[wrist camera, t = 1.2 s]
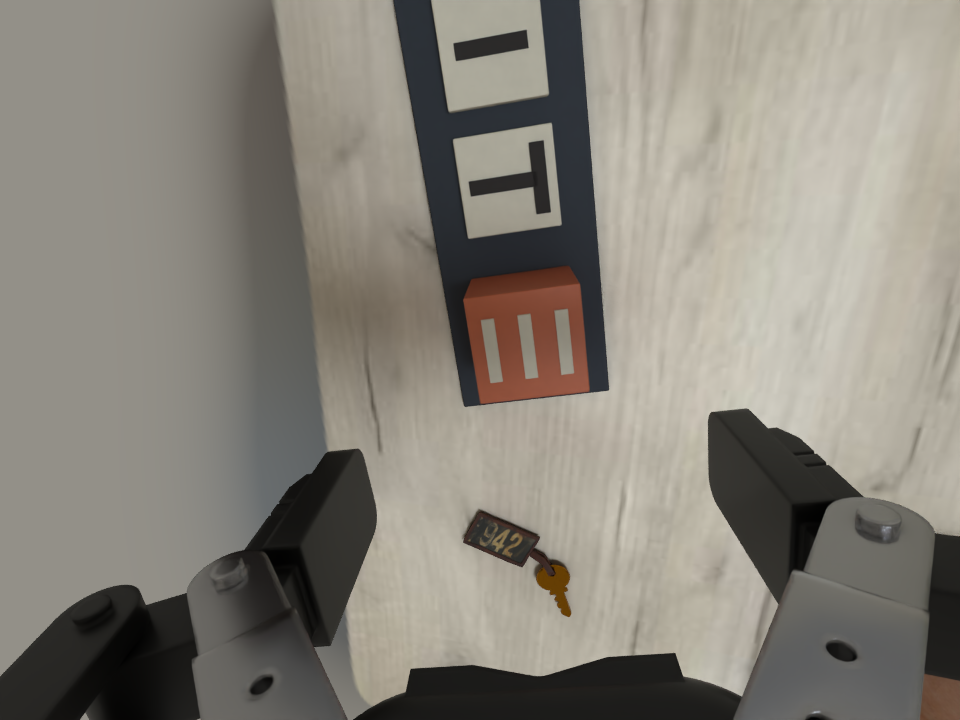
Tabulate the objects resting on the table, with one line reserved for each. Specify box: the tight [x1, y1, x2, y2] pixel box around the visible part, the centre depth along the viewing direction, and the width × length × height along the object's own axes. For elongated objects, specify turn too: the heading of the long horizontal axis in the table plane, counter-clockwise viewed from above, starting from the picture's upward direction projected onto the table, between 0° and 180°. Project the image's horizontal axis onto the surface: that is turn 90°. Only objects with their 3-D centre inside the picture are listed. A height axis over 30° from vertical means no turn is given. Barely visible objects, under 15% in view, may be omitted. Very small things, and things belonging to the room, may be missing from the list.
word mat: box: [393, 0, 609, 407], centre depth 23 cm, size 18×7×1 cm, turn 9°
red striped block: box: [463, 266, 590, 404], centre depth 22 cm, size 4×4×4 cm
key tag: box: [463, 511, 571, 617], centre depth 29 cm, size 8×3×1 cm, turn 50°
